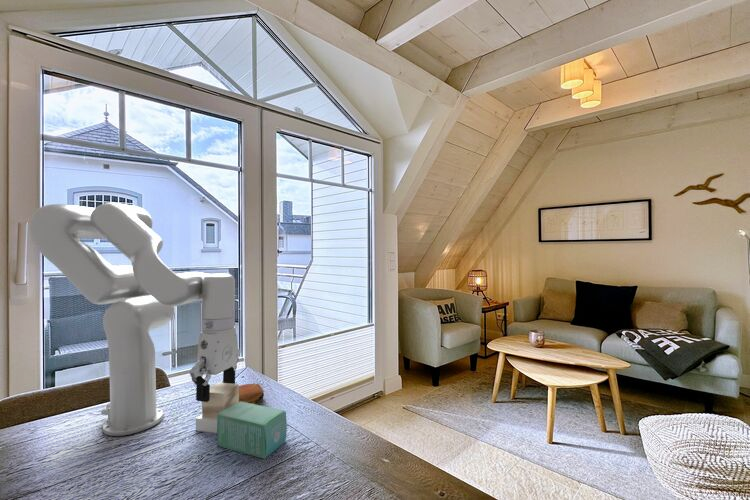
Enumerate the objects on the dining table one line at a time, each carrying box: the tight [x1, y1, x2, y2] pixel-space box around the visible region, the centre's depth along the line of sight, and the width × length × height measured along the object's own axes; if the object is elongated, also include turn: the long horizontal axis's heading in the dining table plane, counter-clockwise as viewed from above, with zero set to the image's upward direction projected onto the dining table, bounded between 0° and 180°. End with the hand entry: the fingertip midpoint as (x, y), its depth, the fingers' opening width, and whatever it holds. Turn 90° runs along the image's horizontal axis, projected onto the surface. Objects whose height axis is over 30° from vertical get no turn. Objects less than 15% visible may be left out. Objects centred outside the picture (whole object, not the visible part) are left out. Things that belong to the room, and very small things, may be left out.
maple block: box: [201, 381, 240, 418], centre depth 87 cm, size 6×6×6 cm
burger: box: [239, 383, 265, 405], centre depth 99 cm, size 10×9×5 cm
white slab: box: [195, 413, 217, 434], centre depth 87 cm, size 8×8×3 cm
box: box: [216, 401, 288, 460], centre depth 78 cm, size 7×14×8 cm, turn 68°
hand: (216, 392), depth 87 cm, fingers open, 9 cm apart
